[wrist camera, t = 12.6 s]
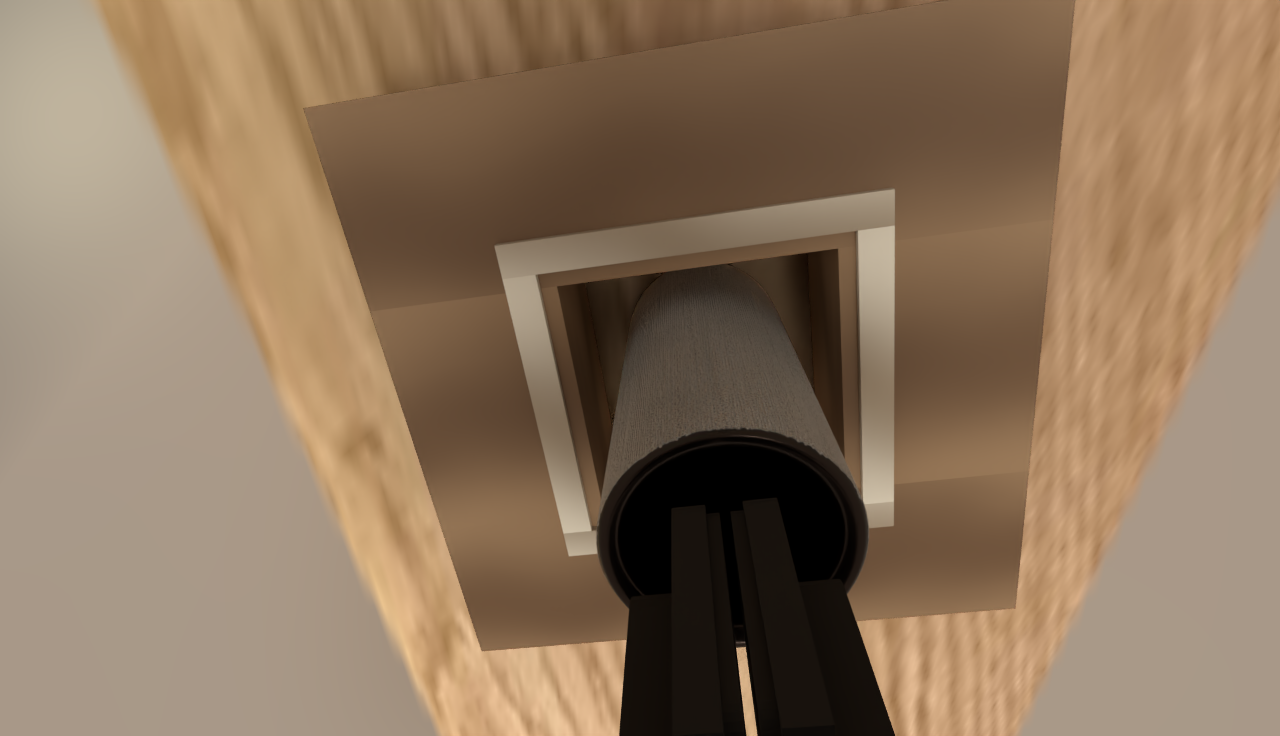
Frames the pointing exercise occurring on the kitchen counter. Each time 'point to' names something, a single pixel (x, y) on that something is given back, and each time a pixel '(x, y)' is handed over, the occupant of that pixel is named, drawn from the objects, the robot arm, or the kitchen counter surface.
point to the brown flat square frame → (711, 235)
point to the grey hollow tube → (720, 438)
